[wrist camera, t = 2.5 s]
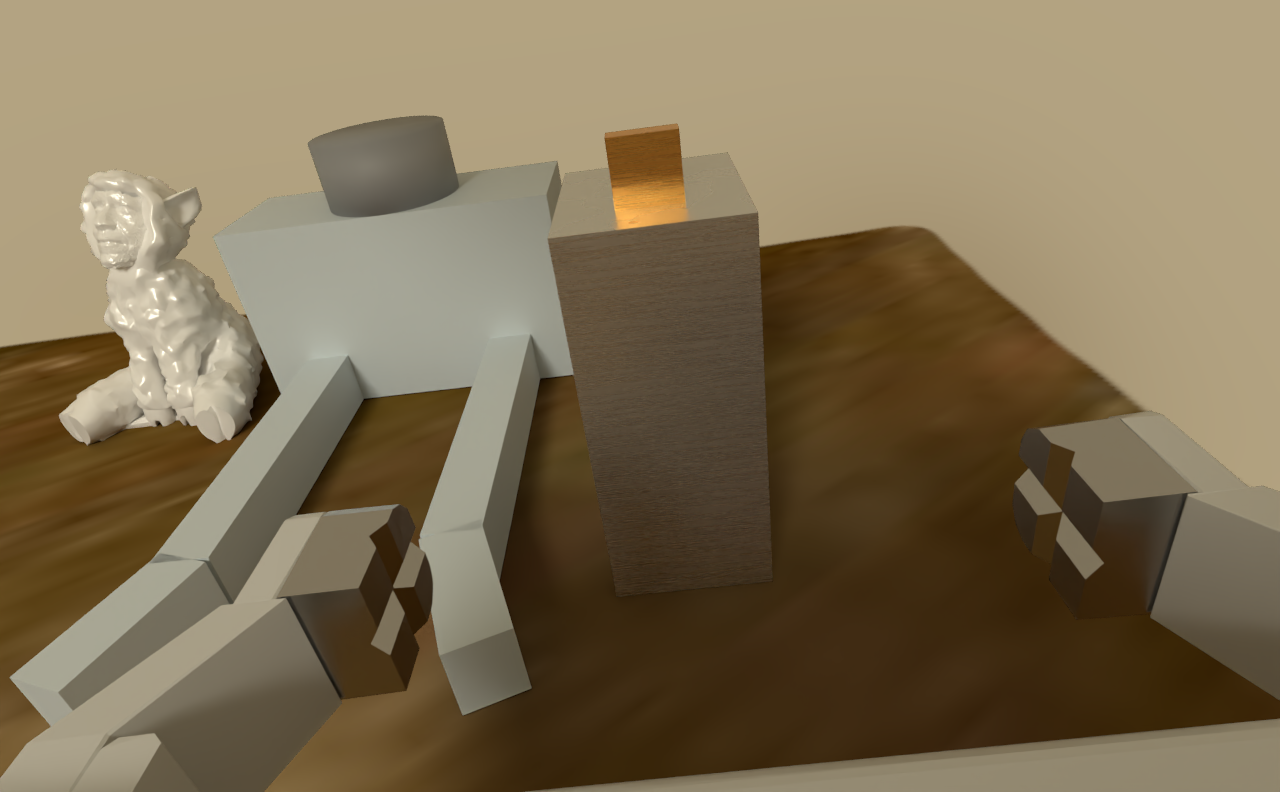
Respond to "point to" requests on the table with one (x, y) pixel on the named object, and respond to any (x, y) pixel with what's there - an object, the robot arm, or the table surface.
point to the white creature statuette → (161, 319)
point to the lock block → (668, 360)
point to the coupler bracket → (364, 393)
